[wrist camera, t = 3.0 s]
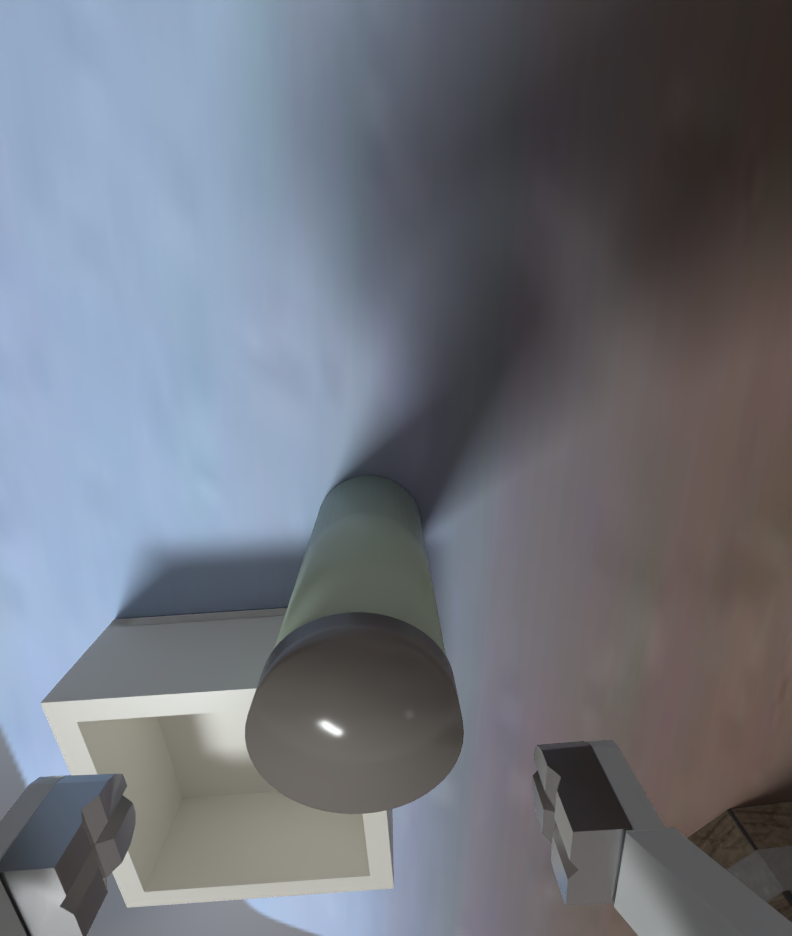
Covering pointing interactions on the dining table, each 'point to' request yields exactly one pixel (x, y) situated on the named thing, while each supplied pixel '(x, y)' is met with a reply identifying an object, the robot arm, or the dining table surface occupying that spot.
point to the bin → (203, 766)
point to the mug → (754, 850)
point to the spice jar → (358, 664)
